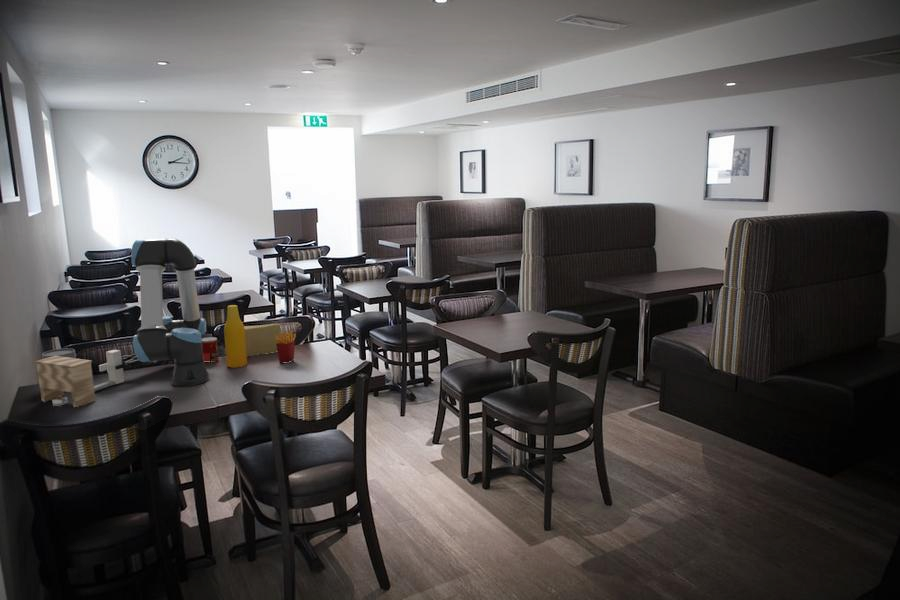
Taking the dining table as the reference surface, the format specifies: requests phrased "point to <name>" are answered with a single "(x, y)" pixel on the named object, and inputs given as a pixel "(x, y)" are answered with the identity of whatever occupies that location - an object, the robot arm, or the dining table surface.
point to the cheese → (261, 339)
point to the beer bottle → (234, 339)
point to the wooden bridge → (66, 379)
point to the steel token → (59, 401)
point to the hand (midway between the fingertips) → (103, 369)
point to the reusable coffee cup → (60, 353)
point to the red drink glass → (210, 349)
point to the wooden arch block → (114, 376)
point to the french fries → (285, 347)
